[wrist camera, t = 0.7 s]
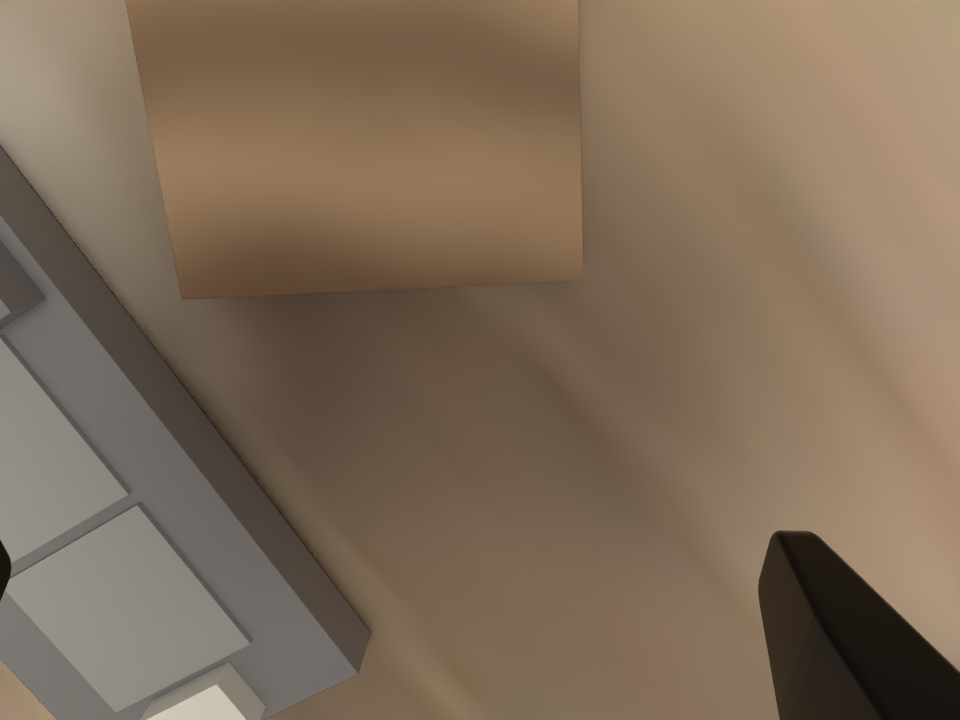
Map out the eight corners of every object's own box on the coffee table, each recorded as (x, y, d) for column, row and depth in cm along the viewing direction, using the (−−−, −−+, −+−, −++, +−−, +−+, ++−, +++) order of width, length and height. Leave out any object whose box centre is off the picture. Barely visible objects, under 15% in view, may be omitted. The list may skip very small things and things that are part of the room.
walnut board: (579, 269, 22) (583, 280, 20) (203, 287, 22) (181, 299, 21) (570, -186, 18) (574, -210, 17) (126, -145, 19) (93, -165, 18)
